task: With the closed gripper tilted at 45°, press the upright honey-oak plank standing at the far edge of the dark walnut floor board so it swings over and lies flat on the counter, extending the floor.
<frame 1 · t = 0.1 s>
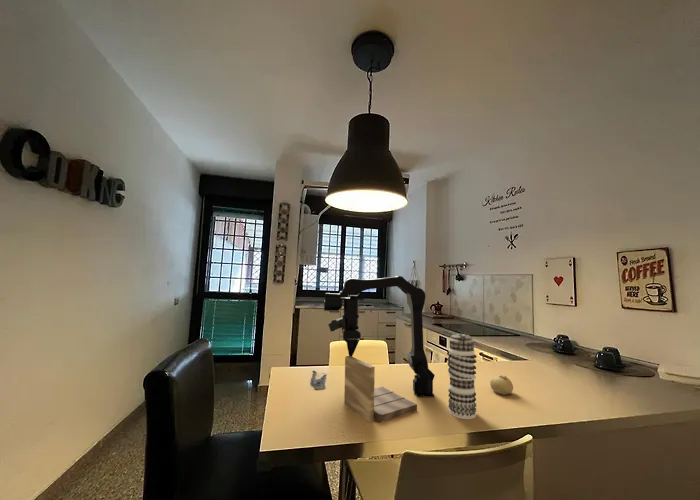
hand: (349, 353, 113), 15 cm above the table, tool pointing down, fingers open, 9 cm apart
floor board: (380, 405, 102), on the table
onion: (501, 393, 116), on the table
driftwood: (319, 382, 125), on the table
decorative candle: (462, 413, 98), on the table
plank: (358, 386, 97), point 8 cm above the table, hinge at 0.0°
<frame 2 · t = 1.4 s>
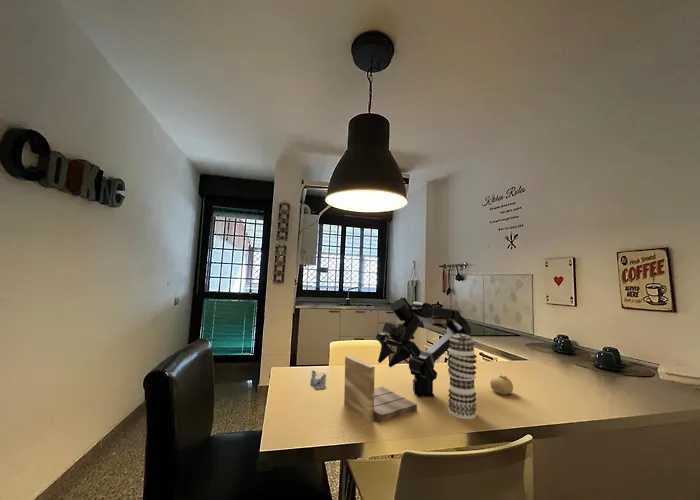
hand: (383, 364, 104), 14 cm above the table, tool tilted 45°, fingers open, 5 cm apart
nothing on the table moved.
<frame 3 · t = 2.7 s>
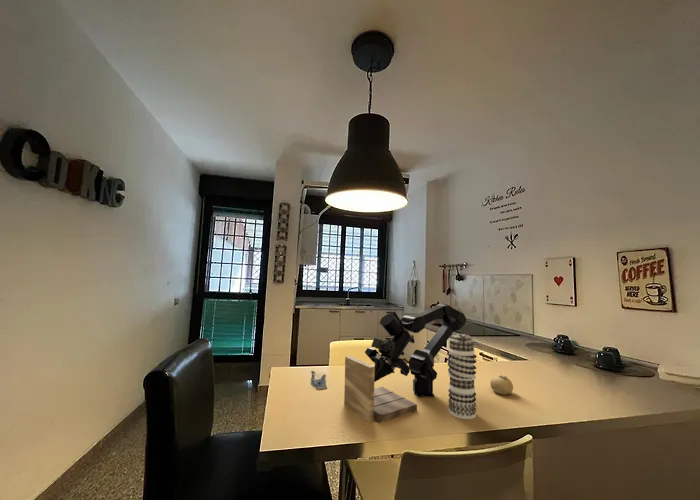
hand: (372, 381, 101), 9 cm above the table, tool tilted 45°, fingers closed
nothing on the table moved.
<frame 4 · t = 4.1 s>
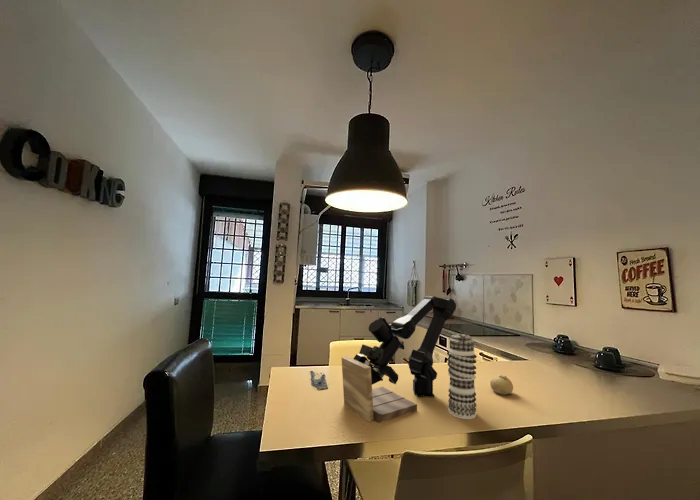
hand: (360, 389, 98), 7 cm above the table, tool tilted 45°, fingers closed, pressing on plank
plank: (356, 386, 97), point 8 cm above the table, hinge at 5.5°, touching gripper
everything else where it was.
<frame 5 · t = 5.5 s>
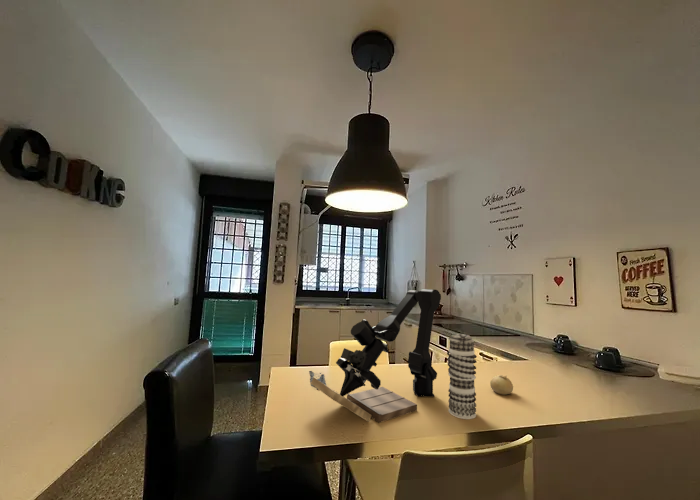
hand: (341, 395, 94), 7 cm above the table, tool tilted 45°, fingers closed, pressing on plank
plank: (340, 399, 94), point 5 cm above the table, hinge at 54.6°, touching gripper
everything else where it was.
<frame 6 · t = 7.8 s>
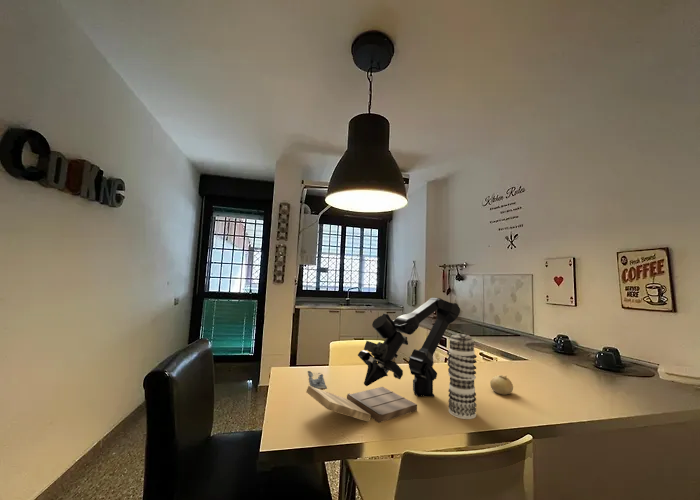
hand: (365, 385, 99), 8 cm above the table, tool tilted 45°, fingers closed
plank: (337, 403, 93), point 4 cm above the table, hinge at 64.7°
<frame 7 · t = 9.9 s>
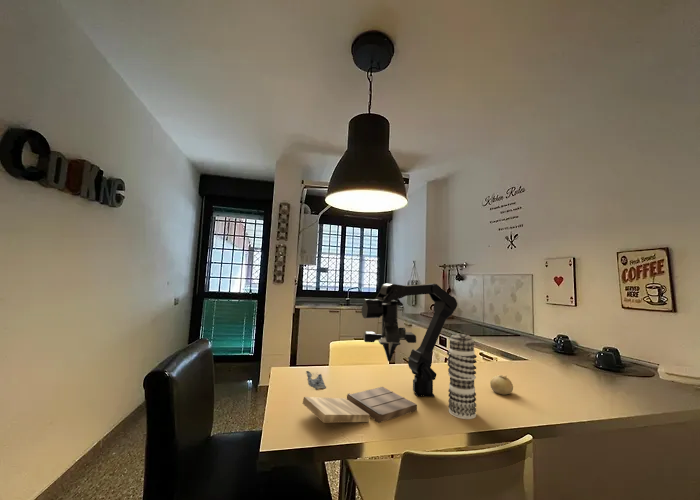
hand: (389, 361, 109), 13 cm above the table, tool pointing down, fingers closed
plank: (335, 409, 92), point 3 cm above the table, hinge at 77.0°
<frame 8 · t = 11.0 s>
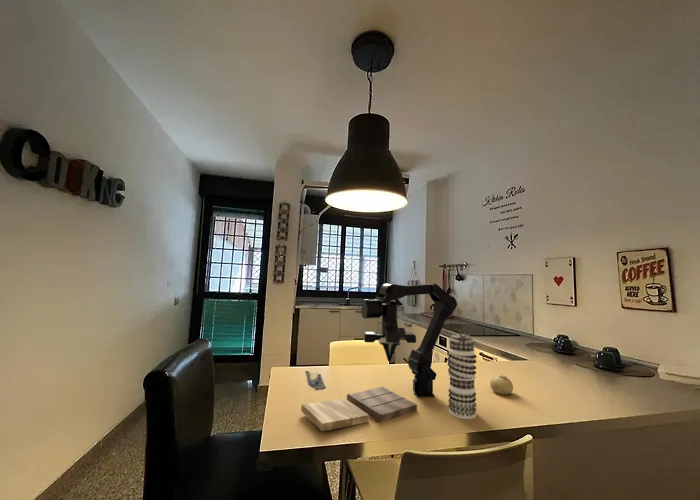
hand: (389, 361, 109), 13 cm above the table, tool pointing down, fingers closed
plank: (334, 413, 92), point 2 cm above the table, hinge at 85.2°
at the end: plank at +87° (first picture: +0°); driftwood moved 1.7 cm from its start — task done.
